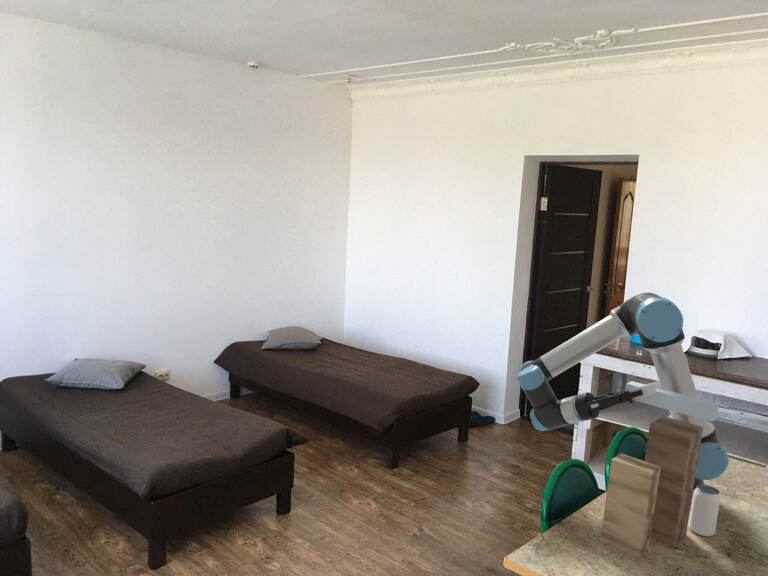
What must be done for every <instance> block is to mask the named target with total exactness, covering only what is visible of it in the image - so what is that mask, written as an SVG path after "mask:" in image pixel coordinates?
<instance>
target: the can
mask: <svg viewBox="0 0 768 576" xmlns="http://www.w3.org/2000/svg"><path fill="white" fill-rule="evenodd" d="M720 502H721V496H720V491H719V489H717V488H716V487H713V486H711V485H707V484H705V485H697V486H696V489H695V490H694V493H693V498H692V501H691V507H690V513H689V520H688V526H687V528H689V530H690V531H691V532H692V533H694V534H696V535H698V536H701V537H707V538H708V537H712V536H713V535H715V533H716V527H717V521H718V518H719V517H718V515H719V511H720V510H719V509H720Z"/></svg>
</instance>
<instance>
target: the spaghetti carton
mask: <svg viewBox="0 0 768 576" xmlns="http://www.w3.org/2000/svg"><path fill="white" fill-rule="evenodd" d="M642 386H646V384H645V383H641V382H636V381H628V382H627V383H626V384H625V390H624V391H625V392H626V391H629V393H630V390H631V389H635V388H639V387H642ZM655 388H656V390H657V394H654V395H650V396H647V397H643V398H639V399H635V400H633V398H632V400H633V402H638V403H641V404H642V403H643V404H646V405H649V406H653V407H656V408H660V409H664V410H667V411H669V410H671V411H674V412H678V413H682V414H685V415H689V416H692V417H696V418H700V419H703V420H706V421H707V422H710V423H712V422H714V421H715V420H717V418H718V414H719V407H720V403H719V402H715V401H711V400H707V399H703V398H701V397H700V398H696V397H692V396H688V395H684V394H680V393H676V392H672V391H668V390H665V389H661V388H657V387H655Z"/></svg>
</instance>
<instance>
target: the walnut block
mask: <svg viewBox="0 0 768 576" xmlns="http://www.w3.org/2000/svg"><path fill="white" fill-rule="evenodd" d="M648 428H649V429H648V436H647V442H646V446H645V447H646V448H645V455H644V461H645V462H648V463H651V464H654V465H657V466H660V467H661V470H660V477H659V483H658V490H657V497H656V503H655V510H654V517H653V523H652V530H651V536H650V540H652V541H655V542H658V543H660V544H662V545H665V546H667V547H669V548H673V549H674V548H675V547H676V545H678V544H679V543H680V542H681V541H682V540H683V539H684V538H685V537H686V536H687V530H688V524H689V517H690V511H691V505H692V495H693V488H694V482H695V476H696V469H697V463H698V457H699V451H700V444H701V438H702V432H703V427H700V426H697V425H693V424H690V423H686V422H683V421H679V420H675V419H672V418H668V416H664V415H663V416H661V417H659V418H658V419H656V420H654V421H652V422H650V423H649V427H648Z"/></svg>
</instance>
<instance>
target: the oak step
mask: <svg viewBox="0 0 768 576" xmlns="http://www.w3.org/2000/svg"><path fill="white" fill-rule="evenodd" d="M660 470H661V467H660V466H657V465H654V464H651V463H648V462H645V460H642V459H639V458H637V457H633V456H630V455H627V454H625V453H619V454H618V455H616V456H615V457H612V458H611V460H610V467H609V476H608V481H607V490H606V496H605V497H606V498H605V503H604V510H603V511H604V512H603V517H602V526H601V532H600V533H601V534H600V542H602V543H605V544H606V545H609V546H611V547H614V548H616V549H619V550H620V551H623V552H625V553H627V554H630V555H631V556H634V557H636V558H638V559H640V558H641V557H642V556H643V555H645V553H646V552H647V551H649V549H650V542H651V539H650V536H651V530H652V523H653V517H654V510H655V503H656V497H657V490H658V483H659V477H660Z"/></svg>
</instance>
